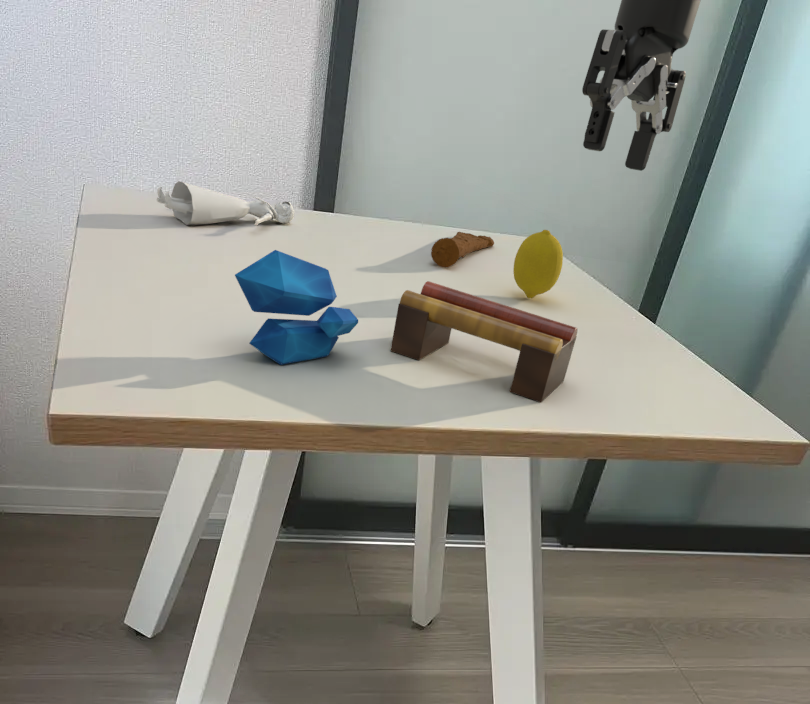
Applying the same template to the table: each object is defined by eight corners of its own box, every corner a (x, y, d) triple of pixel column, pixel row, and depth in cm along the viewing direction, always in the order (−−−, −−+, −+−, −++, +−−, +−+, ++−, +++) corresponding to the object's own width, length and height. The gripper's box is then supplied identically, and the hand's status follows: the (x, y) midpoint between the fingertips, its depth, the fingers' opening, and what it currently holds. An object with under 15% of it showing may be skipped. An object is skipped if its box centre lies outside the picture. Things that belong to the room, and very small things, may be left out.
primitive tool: (458, 235, 127) (463, 210, 125) (495, 245, 126) (501, 219, 125) (426, 264, 111) (432, 236, 109) (469, 275, 110) (475, 247, 108)
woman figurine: (143, 167, 108) (273, 184, 119) (140, 205, 110) (268, 218, 121) (184, 193, 100) (319, 208, 111) (180, 233, 102) (312, 244, 113)
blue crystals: (388, 286, 76) (279, 260, 67) (355, 381, 79) (247, 369, 70) (333, 259, 80) (224, 231, 71) (305, 350, 83) (197, 335, 74)
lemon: (520, 305, 103) (537, 234, 99) (498, 289, 107) (514, 221, 103) (560, 307, 105) (579, 238, 101) (538, 291, 109) (555, 225, 105)
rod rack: (563, 381, 84) (580, 325, 81) (541, 402, 78) (557, 343, 75) (421, 333, 88) (432, 278, 85) (390, 350, 83) (400, 292, 80)
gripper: (663, -42, 81) (609, 147, 86) (729, 13, 91) (676, 179, 96) (595, -42, 85) (547, 139, 91) (665, 11, 96) (618, 170, 101)
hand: (614, 159), depth 94 cm, fingers open, 8 cm apart
